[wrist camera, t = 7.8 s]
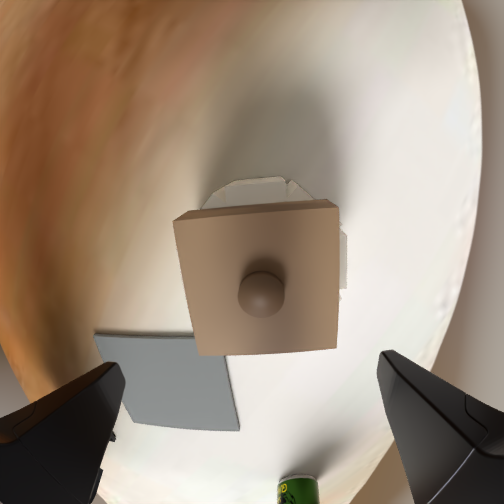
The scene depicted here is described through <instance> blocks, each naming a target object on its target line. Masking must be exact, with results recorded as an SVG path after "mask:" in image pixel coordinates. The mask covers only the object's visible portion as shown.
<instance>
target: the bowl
mask: <svg viewBox="0 0 504 504" xmlns="http://www.w3.org/2000/svg"><path fill="white" fill-rule="evenodd" d="M305 200H315V199H314V198H313V197H312V196H310V195H309V194H308V193H307V192H306V191H305V190H304V189H302V188H301V187H300V186H299V185H298V184H296V183H295V182H294V181H293V180H291V181H290V182H289V183H288V184H287V183H286V182H285V180H284V179H283V178H282V176H279V177H267V178H256V179H245V180H236V181H233V182H231V183H230V184H228V185H226V186H224V187H222V188H220V189H219V190H217V191H215V192H214V193H212V195H211V196H210V197H209V198H208V200H207V201H206V202H205V204H204V205H203V206H202V208H201V209H210V208H220V207H230V206H241V205H252V204H264V203H277V202H291V201H305ZM341 225H342V224H341V223H340V222H339V227H340V226H341ZM339 235H340V277H339V289H346V288H347V235H346V234H345V233H344V232H343V231H342V230H341V229H340V228H339ZM176 250H177V249H176ZM177 256H178V252H177ZM178 261H179V257H178ZM179 267H180V263H179ZM180 272H181V269H180ZM181 277H182V274H181ZM182 282H183V279H182ZM183 287H184V284H183ZM184 292H185V289H184ZM185 297H186V295H185ZM341 299H342V298H341V296H340V294H339V301H340V300H341ZM186 300H187V299H186Z"/></svg>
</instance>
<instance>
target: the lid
mask: <svg viewBox="0 0 504 504" xmlns="http://www.w3.org/2000/svg"><path fill="white" fill-rule="evenodd" d="M173 227H174V234H175V240H176V246H177V252H178V257H179V263H180V269H181V274H182V279H183V284H184V289H185V295H186V299H187V304H188V309H189V314H190V318H191V323H192V327H193V332H194V336H195V341H196V345H197V349H198V353H199V356H226V355H258V354H276V353H291V352H304V351H315V350H325V349H334V348H337V332H338V312H339V277H340V235H339V207H337V206H336V205H335V204H333V203H332V202H330V201H329V200H327V199H322V200H305V201H291V202H277V203H264V204H252V205H241V206H230V207H220V208H210V209H200V210H191V211H187V212H186V213H184V214H183V215H181V216H180V217H178V218H177V219H175V220H174V221H173Z"/></svg>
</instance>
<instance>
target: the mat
mask: <svg viewBox="0 0 504 504" xmlns="http://www.w3.org/2000/svg"><path fill="white" fill-rule="evenodd" d="M93 337H94V340H95V342H96V345H97V347H98V350H99V352H100V355H101V357H102V359H103V362H104V363H105V362H107V361H111V362H117V363H118V364H119V366H120V368H121V370H122V373H123V375H124V377H125V380H126V385H125V389H124V393H123V397H122V402H123V404H124V406H125V408H126V409H127V411H128V413H129V415H130V417H131V419H132V421H133V422H134V423H140V424H147V425H154V426H162V427H171V428H181V429H193V430H210V431H239V430H240V428H239V423H238V419H237V414H236V410H235V405H234V401H233V396H232V391H231V386H230V381H229V377H228V372H227V367H226V362H225V357H224V356H199V353H198V349H197V345H196V341H195V336H130V335H109V334H94V335H93Z"/></svg>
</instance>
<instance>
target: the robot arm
mask: <svg viewBox="0 0 504 504" xmlns="http://www.w3.org/2000/svg"><path fill="white" fill-rule="evenodd" d="M377 378H378V382H379V386H380V391H381V395H382V399H383V404H384V408H385V412H386V415H387V418H388V421H389V424H390V427H391V430H392V433H393V436H394V438H395V441H396V444H397V447H398V450H399V453H400V456H401V460H402V463H403V466H404V469H405V472H406V475H407V479H408V482H409V486H410V489H411V492H412V495H413V499H414V503H415V504H504V412H501V411H498V410H497V409H495V408H493V407H491V406H489V405H486V404H485V403H483V402H481V401H479V400H477V399H475V398H474V397H472V396H470V395H468V394H466V393H465V392H463V391H462V390H460V389H458V388H456V387H455V386H453V385H451V384H449V383H448V382H446V381H444V380H443V379H441V378H439V377H438V376H436V375H434V374H432V373H431V372H429V371H428V370H426V369H424V368H423V367H421V366H419V365H418V364H416V363H414V362H412V361H411V360H409V359H407V358H406V357H404V356H402V355H401V354H399V353H397V352H396V351H394V350H386V351H382V352H381V353H380V355H379V361H378V367H377ZM125 385H126V380H125V377H124V375H123V373H122V370H121V368H120V366H119V364H118V363H117V362H111V361H107V362H105V363H103V364H102V365H100V366H98V367H96V368H95V369H93V370H91V371H89V372H87V373H86V374H84V375H82V376H80V377H79V378H77V379H75V380H73V381H71V382H70V383H68V384H66V385H64V386H62V387H61V388H59V389H57V390H55V391H53V392H51V393H50V394H48V395H46V396H44V397H42V398H40V399H39V400H37V401H35V402H33V403H31V404H29V405H27V406H25V407H23V408H22V409H20V410H17V411H15V412H13V413H11V414H9V415H6V416H4V417H2V418H0V504H91V503H92V501H93V499H94V497H95V495H96V492H97V489H98V486H99V482H100V479H101V476H102V473H103V470H102V469H101V468H100V465H101V462H102V459H103V456H104V453H105V450H106V448H107V445H108V443H109V441H112V442H115V440H116V438H115V436H114V435H113V433H112V431H113V428H114V425H115V422H116V420H117V416H118V413H119V409H120V405H121V401H122V397H123V393H124V389H125Z"/></svg>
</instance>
